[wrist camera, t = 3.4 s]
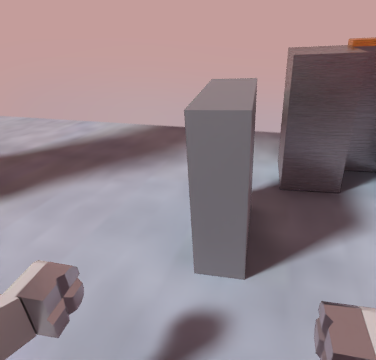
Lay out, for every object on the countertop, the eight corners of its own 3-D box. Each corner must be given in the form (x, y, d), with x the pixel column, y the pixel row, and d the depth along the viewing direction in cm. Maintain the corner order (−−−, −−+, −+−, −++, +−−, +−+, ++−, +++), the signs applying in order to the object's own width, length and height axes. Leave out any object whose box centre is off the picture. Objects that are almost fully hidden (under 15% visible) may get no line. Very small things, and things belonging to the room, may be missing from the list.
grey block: (194, 273, 18) (184, 110, 13) (214, 203, 25) (212, 79, 20) (244, 279, 17) (252, 110, 13) (250, 206, 24) (257, 78, 20)
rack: (280, 189, 26) (294, 47, 21) (277, 161, 31) (289, 41, 26) (471, 201, 23) (545, 36, 18) (434, 167, 28) (483, 32, 23)
